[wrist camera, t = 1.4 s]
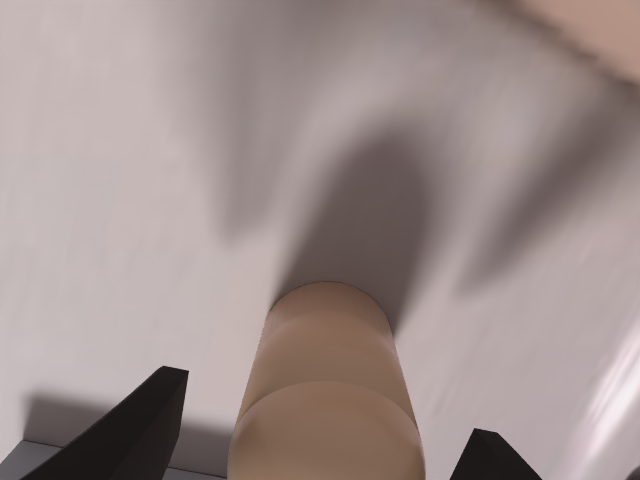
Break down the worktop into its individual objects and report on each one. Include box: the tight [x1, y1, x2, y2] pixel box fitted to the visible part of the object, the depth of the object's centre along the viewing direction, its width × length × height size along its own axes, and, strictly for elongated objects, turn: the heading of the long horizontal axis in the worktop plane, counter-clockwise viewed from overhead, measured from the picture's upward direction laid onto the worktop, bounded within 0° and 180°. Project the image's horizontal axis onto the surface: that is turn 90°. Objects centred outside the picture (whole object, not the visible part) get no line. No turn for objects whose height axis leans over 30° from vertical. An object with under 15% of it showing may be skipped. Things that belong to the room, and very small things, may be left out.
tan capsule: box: [227, 282, 426, 480], centre depth 10 cm, size 4×4×7 cm
